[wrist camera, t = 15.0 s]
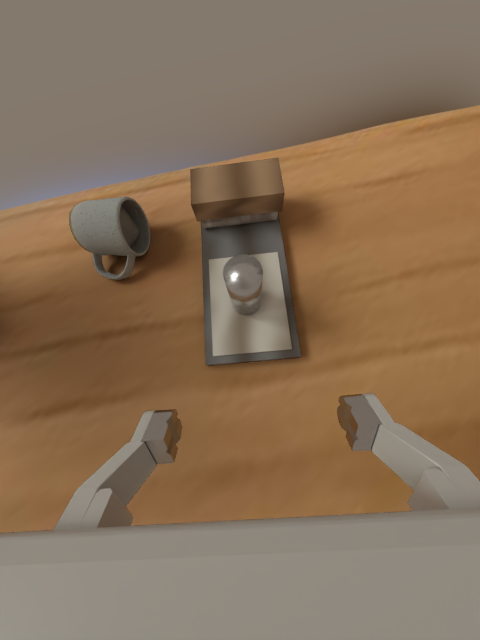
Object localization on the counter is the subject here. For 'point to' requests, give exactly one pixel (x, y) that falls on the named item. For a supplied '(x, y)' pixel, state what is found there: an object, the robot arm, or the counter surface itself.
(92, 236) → the ceramic mug
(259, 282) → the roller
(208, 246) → the grey board with block
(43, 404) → the counter surface
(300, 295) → the counter surface
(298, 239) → the counter surface
